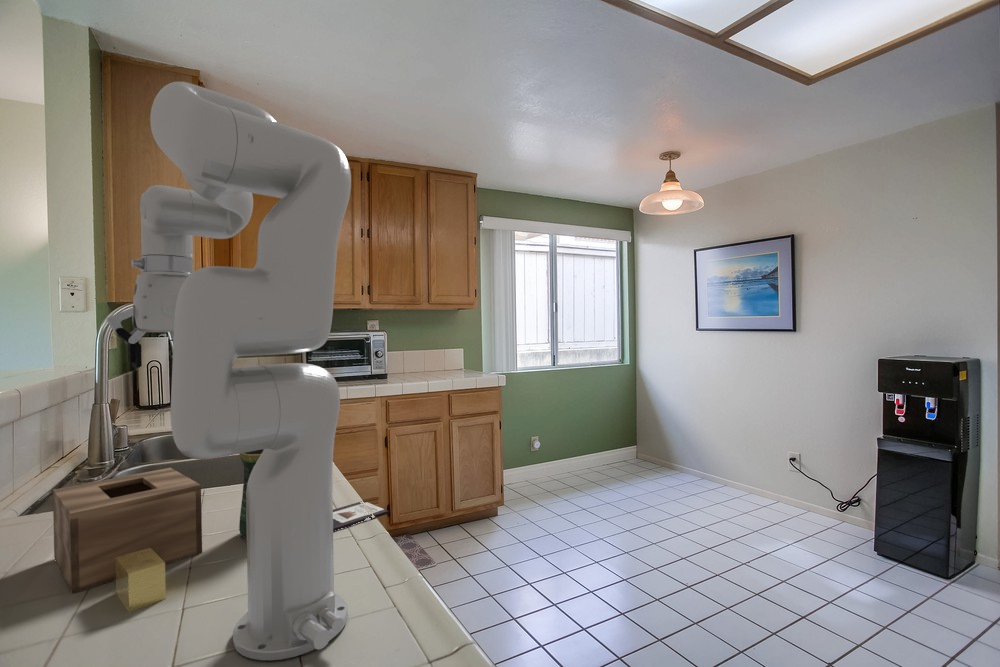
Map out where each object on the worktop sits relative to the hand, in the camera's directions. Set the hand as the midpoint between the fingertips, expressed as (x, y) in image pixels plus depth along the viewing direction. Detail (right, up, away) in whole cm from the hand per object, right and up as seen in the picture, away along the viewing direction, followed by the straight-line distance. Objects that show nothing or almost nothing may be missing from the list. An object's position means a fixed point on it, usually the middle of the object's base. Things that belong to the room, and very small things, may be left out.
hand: (169, 365), depth 87 cm
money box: (-1, -30, -8) cm, 31 cm away
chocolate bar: (+27, -30, +5) cm, 41 cm away
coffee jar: (+18, -30, +1) cm, 35 cm away
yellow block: (+10, -30, -20) cm, 38 cm away
